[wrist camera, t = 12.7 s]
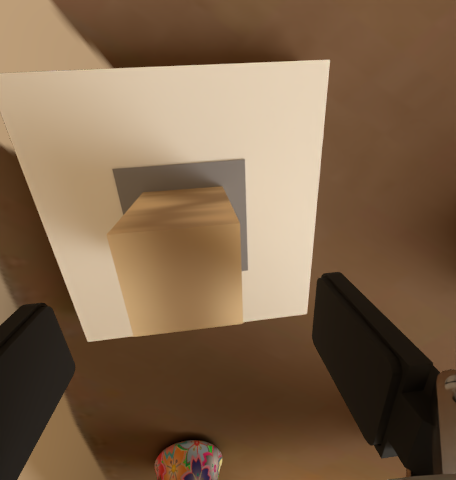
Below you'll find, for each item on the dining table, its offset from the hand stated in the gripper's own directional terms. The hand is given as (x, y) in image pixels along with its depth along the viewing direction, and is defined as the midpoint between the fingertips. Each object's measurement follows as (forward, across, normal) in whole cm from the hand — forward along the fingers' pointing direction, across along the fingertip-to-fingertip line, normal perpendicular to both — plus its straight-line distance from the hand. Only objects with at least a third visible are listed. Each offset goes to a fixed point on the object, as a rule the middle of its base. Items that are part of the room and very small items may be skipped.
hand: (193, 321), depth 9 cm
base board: (+12, +1, -1) cm, 12 cm away
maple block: (+9, +1, -1) cm, 9 cm away
